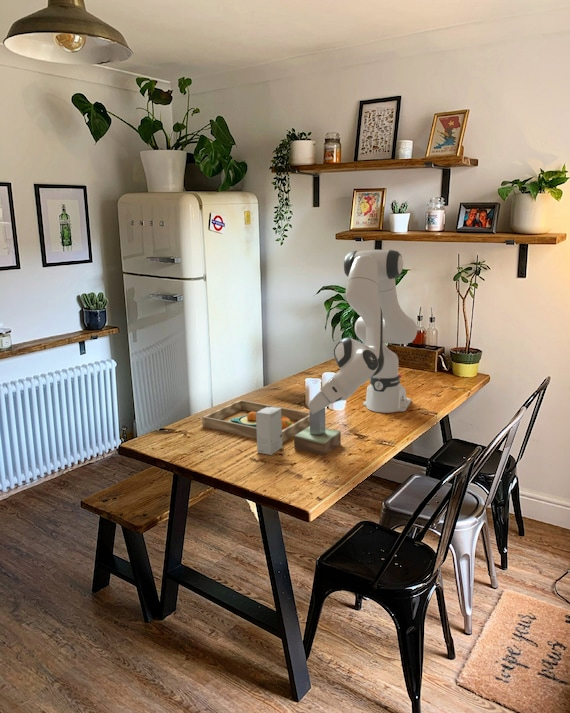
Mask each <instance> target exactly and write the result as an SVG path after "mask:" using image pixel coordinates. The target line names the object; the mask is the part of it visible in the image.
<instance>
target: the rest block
mask: <svg viewBox="0 0 570 713" xmlns="http://www.w3.org/2000/svg"><path fill="white" fill-rule="evenodd" d="M341 432H342V431H341V430H337V429H331V428H328V427H325V433H324V434H322V435H320V436H318V435H313V434H310V426H309V427H307V428H306V429H304V430H302V431H301V432H299V433H297V434H296V435H294V436H293V437H294V438H293V440H294V441H293V442H294V443H293V444H294V445H293V448H294V449H293V450H297V451H302V452H304V453H305V452H306V453H310V454H315V455H319V456H324V457H325V456H327V455H328V454H329V453H331V452H332V451H333V450H335V449H336V448H338V447H339V446H340V445H341V443H342V442H341V441H342V440H341V439H342V438H341V437H342V436H341V435H342V433H341Z"/></svg>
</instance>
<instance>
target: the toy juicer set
mask: <svg viewBox="0 0 570 713" xmlns="http://www.w3.org/2000/svg"><path fill="white" fill-rule="evenodd" d="M281 420H282V430H284V429H285V428H287V427H289V426H291V425H292V424H293V423H292V420H291V419H289V418H287V417H281ZM227 421H228V422H233V423H238V424H243V425H247V426H252V427H256V412H250V411H249V412H248V414H246V415H245V414H244V415H241V416H238V417H233V418H231V419H228V420H227Z"/></svg>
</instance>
